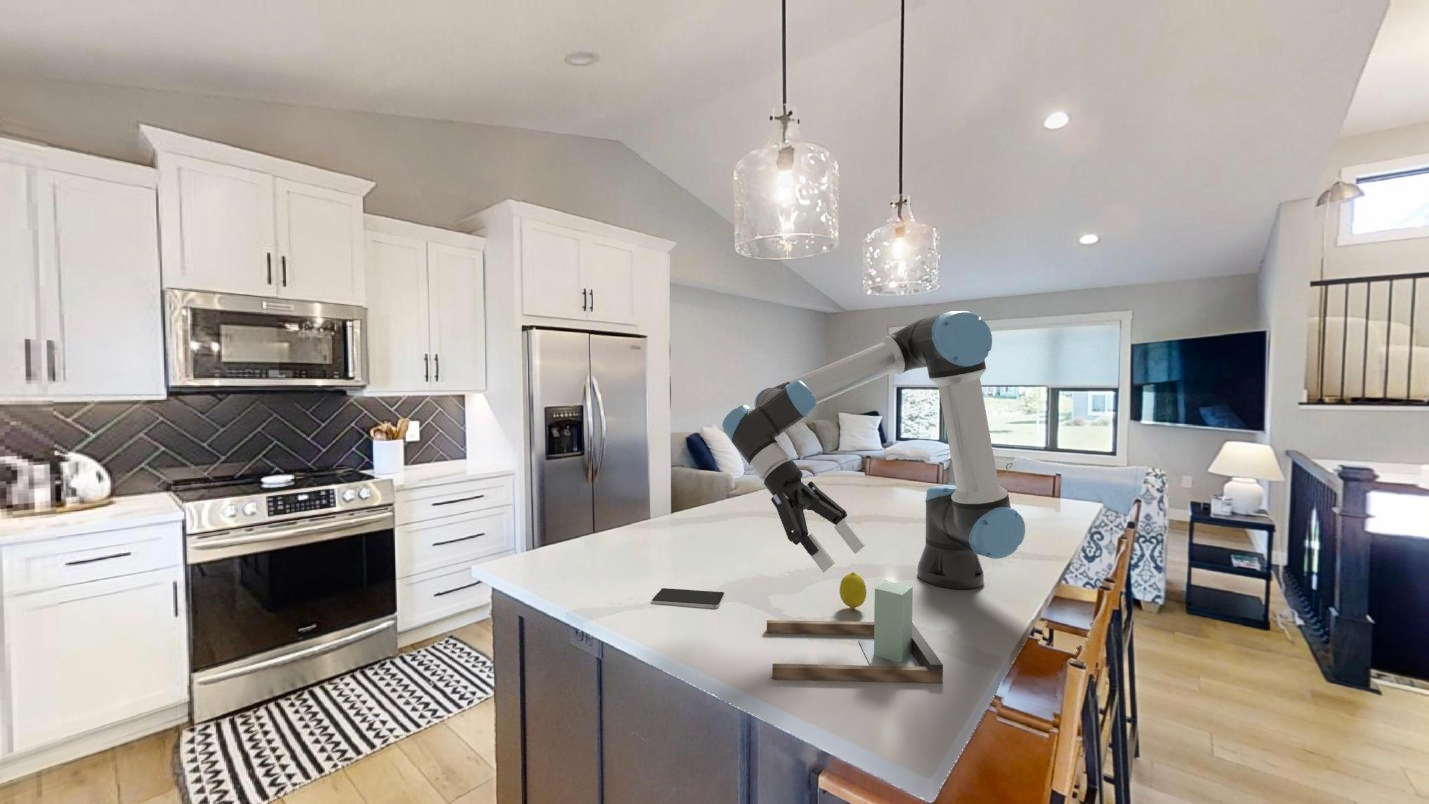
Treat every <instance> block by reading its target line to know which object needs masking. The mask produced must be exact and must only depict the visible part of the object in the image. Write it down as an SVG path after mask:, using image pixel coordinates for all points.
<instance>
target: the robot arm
mask: <svg viewBox="0 0 1429 804" xmlns="http://www.w3.org/2000/svg"><path fill="white" fill-rule="evenodd" d="M992 347H993V336H992V331H991V329H990V327H989V325H988V324H987V323H986V321H985V320H984V319H983V318H982V317H980V316H979V315H977V314H976V313H974V312H970V311H968V310H967V311H965V310H960V311H959V310H958V311H957V310H955V311H948V312H945V313H941V314H937V315H932V316H926V317H923V318H921V319H919V320H918V319H917V320H915V322H912V323H911V324H909V325H906V326H905V327H903V328H900V329H898V330H897V331H894V332H893V333H891V334H889V335H885V336H884V337H882V338H881V341H880V343H877V344H874V345H873V346H870V347H868V348H865V349H862V350H861V351H858V352H856V353H853V354H851V355H848V356H846V357H843V358H841V359H838V360H837V361H834V362H831V363H830V364H829V363H828V364H827V365H824V366H821V367H819V368H817V369H815V370H812V371H810V372H807V373H805V374H802V375H800V376H797V377H795V378H792V379H790V380H788V381H786V382H784V383H781V384H779V385H775V386H774V387H767V388H765V389H762V390H761V391H759V393H758V394H757V395H756V397H755V398H754V409H753V408H752V407H750V406H749V405H747V404H742V405H740V406H738V407H735V408H734V409H732V410H731V411H730V412H729V413H727V415H726V416H724V419H723V420H722V430H723V431H724V433H725V435H726V436H727V437H728V438H729V440H730V442H731V443H732V444H733V445H734V447H735V449H737V451H738V452H739V453H740V455H741V456H742V457H743V459H744V460H745V461H746V462H747V464H748V465H749V466H750V467H751V468H752V470H753V471H754V474H755V475H757V476H758V478H759V479H760V480H761V481H763V485H764V487H766V488H767V490H768V491H769V493H770V495H772V497H771V499H770V501H771V503H772V504H773V505H774V507H775V508H776V511H777V514H778V516H779V519H780V522H781V524H782V527H783V529H784V531H785V535H786V537H787V540H788V541H789V542H790V543H793V544H794V545H795V546H797V545H799V544H801V545H802V546H803V547H802V548H803V549H804V550H806V552H807V553H808V555H810V557H811V559H813V561H814V562H815V563H816V565H817V566H818V567H819V569H820V570H821V572H822V573H825V572H827V571H828V570H829V569H830V568H832V566H834V565H835V564H836V562H835V561H834V560H833V558H832V557H831V556H830V555H829V553H828V552H827V551H826V549H825V548H824V547H823V545H822V544H821V543H820V541H819V540H818V539H817V538H816V536H815V535H814V533H812V532H811V533H810V534H809V531H808V527H807V526H808V525H807V522H806V517H805V516H806V515H805V513H804V510H807V511H812V512H814V513H816V514H818V515H819V516H820V517H822V518H823V519H826V520H827V521H828V522H830V523H831V524H833V525H834V527H833V528H834V529H835V531H836V532H837V534H839V536H840V537H841V538H842V540H843V541H844V542H845V544H847V546H848V547H849V548H850V549H851V551H852V553H854V555H855V554H857V553H859V552H860V551H861V550H862V549H863V548H865V546H866V543H865V542H864V541H863V540H862V538H861V537H860V536H859V535H858V534H857V532H856V531H855V530H854V529H853V528H852V526H851V525H850V524H849V523H848V522H847V520H846V519H845V518H847V517H848V513H847V511H846V510H845V509H844V508H843V507H842V506H840V505H839V504H838V503H837V502H835V500H833V499H832V498H831V497H829V496H828V495H827V494H826V493H824V492H823V491H822V490H821V489H819V488H818V486H817V485H816V484H815V483H814V482H813V481H811V480H810V481H808V483H807V484H805V483H803V482H802V478H803V475H804V473H803V471H802V470H801V469H800V468H799V466H798V465H797V464H796V463H795V461H793V460H791V456H790V455H789V454H788V452H786V450H785V449H784V447H783V446H782V445H781V444H780V443H779V442H778V441H777V440H776V438H777V437H779V436H781V434H783V433H785V431H787V430H788V429H790V428H791V427H792V426H794V425H796V424H797V423H798V422H800V421H801V420H802V419H804V418H806V417H808V415H809V414H811V413H812V412H813V411H814V410H815V409H816V408H817V406H818V404H819V403H822V402H824V401H827V400H829V399H832V398H834V397H836V396H839V395H841V394H843V393H847V392H849V391H851V390H853V389H856V388H859V387H860V386H863V385H865V384H867V383H871V382H873V381H875V380H877V379H880V378H882V377H884V376H888V375H890V374H892V373H895V374H896V375H900V374H903V373H906V372H907V371H912V370H915V369H920V368H921V369H922V368H927V373H928V378H929V380H930V381H932V382H933V383H935V384H936V385H937V387H938V388H937V389H938V393H939V398H940V404H941V409H942V415H943V420H944V425H945V426H944V427H945V431H946V436H947V442H948V448H949V452H950V458H951V463H952V468H953V475H954V481H955V485H933V486H930V487H928V488H927V490H926V495H925V496H926V497H925V502H924V503H925V544H924V548H923V550H922V553H921V556H920V558H919V561H918V564H917V576H918V578H919V579H920V580H922V581H923V582H926V583H928V584H930V585H934V586H938V587H942V588H946V589H947V588H948V589H956V590H971V589H976V588H980V587H981V586H983V585H984V581H985V580H984V577H985V575H984V571H983V568H982V564H981V561H980V558H979V556H982V557H986V558H988V559H993V560H999V559H1003V558H1006V557H1009V556H1011V555H1012V554H1013V553H1016V551H1017V550H1018V548H1019V546H1020V545H1022V543H1023V542H1024V539H1025V535H1026V523H1025V521H1024V518H1023V517H1022V515H1021V514H1020V513H1019V512H1018V511H1017V510H1016V509H1014V508H1012V507H1011V502H1010V496H1009V491H1008V489H1006V488H1004V487H1003V486H1001V485H1000V483H999V479H998V472H997V466H996V462H995V454H994V450H993V444H992V439H991V434H990V433H991V432H990V427H989V421H988V416H987V415H988V414H987V411H986V405H985V399H984V393H983V388H982V384H981V383H982V382H981V378H982V376H983V374H984V373H985V371H986V370H987V367H986V358H987V357H988V356H989V352H990V351H991V350H992Z"/></svg>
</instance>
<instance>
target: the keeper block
mask: <svg viewBox="0 0 1429 804" xmlns="http://www.w3.org/2000/svg"><path fill="white" fill-rule="evenodd" d="M913 589H914V588H913V586H911V585H907V584H901V583H898V582H894V581H888V580H884V581H883V582H881V583H880V584H878V586H876V587H874V607H873V608H874V617H873V619H874V621H873V622H874V635H873V641H874V655H876V656H879V657H882V658H886V659H889V660H892V661H895V662H898V663H901V664H902V663H903V662H904V660H905V659H906V658H907V657H908V656H909V655H910V654H911V653H912V623H913V595H914V594H913Z"/></svg>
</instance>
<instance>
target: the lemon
mask: <svg viewBox="0 0 1429 804" xmlns="http://www.w3.org/2000/svg"><path fill="white" fill-rule="evenodd" d="M839 596H840V598H841V599H840V600H841V601H842V602H843V603H844V604H845V605H846V607H848V608H849V609H851V610H855V609H856V608H858V607H861V606H862V605H863V604H864V602H865V600H866V597H867V587H866V583H865V580H864V579H863V578H862V577H861V575H859V574H858V573H857V574H856V573H855V571H854V572H851V573H847V574H846V575H845V576H843V578H842V579H841V581H840V584H839Z"/></svg>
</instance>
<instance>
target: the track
mask: <svg viewBox="0 0 1429 804" xmlns="http://www.w3.org/2000/svg"><path fill="white" fill-rule="evenodd" d="M766 633H767V634H801V635H802V634H804V635H805V634H808V635H809V634H810V635H811V634H812V635H816V634H817V635H819V634H820V635H857V636H858V635H859V636H860V635H863V636H865V635H866V636H874V621H844V620H843V621H842V620H841V621H834V620H830V621H829V620H826V621H825V620H790V619H789V620H787V619H785V620H784V619H783V620H781V619H780V620H778V619H776V620H774V619H766ZM858 643H859V645H860V647H861V650H862V651H863V653H864V656H865V658H866V660H867V662H868V665H866V664H865V665H864V664H863V665H861V664H860V665H858V664H857V665H854V664H850V665H849V664H819V663H817V664H815V663H814V664H813V663H812V664H810V663H809V664H808V663H806V664H805V663H771V664H772V665H771V666H772V668H771V669H772V672H771V673H772V674H771V675H772V680H792V681H793V680H794V681H795V680H797V681H801V680H802V681H837V682H838V681H841V682H843V681H844V682H849V681H850V682H889V683H892V682H893V683H928V684H929V683H933V684H934V683H937V684H942V683H944V676H943V674H944V664H943V663H942V661H941V660H940V659H939V657H938V656H937V654H936V653H935V652H934V650H933V649H932V648H931V647H930V646H931V645H929V643H928V642H927V641H926V640H925V638H924V637H923V635H922V634H921V632H920V631H919V630H918V628H917V627H916V626H915V624H914V623H913V622H912V653H911V654H910V655H909V656H908V657H907V658H906V659H905V660H904V662H903V663H902V664H901V663H898V662H895V661H892V660H889V659H886V658H882V657H879V656H876V655H874V640H865V639H864V640H862V639H861V640H858Z"/></svg>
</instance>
